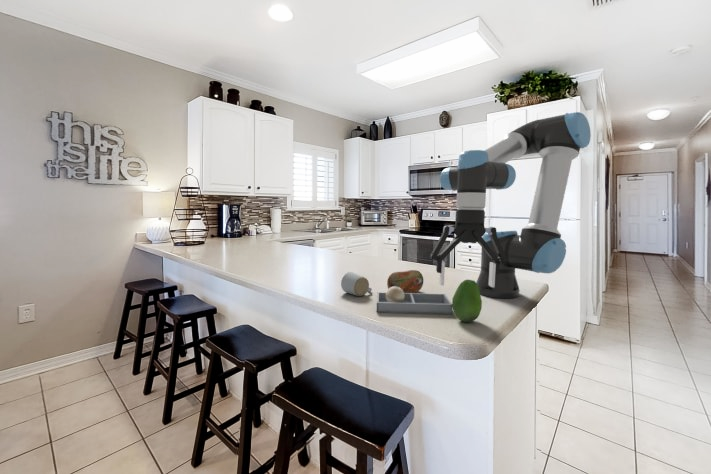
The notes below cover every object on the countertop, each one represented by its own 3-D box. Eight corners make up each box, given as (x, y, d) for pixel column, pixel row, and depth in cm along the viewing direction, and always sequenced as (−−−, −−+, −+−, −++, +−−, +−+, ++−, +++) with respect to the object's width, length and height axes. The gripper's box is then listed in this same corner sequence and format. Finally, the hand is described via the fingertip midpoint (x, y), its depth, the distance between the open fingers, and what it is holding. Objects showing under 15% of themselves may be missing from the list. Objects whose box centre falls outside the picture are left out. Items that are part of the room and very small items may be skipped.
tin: (390, 296, 117) (390, 273, 116) (385, 294, 120) (385, 271, 119) (423, 291, 124) (424, 269, 123) (418, 289, 126) (419, 268, 126)
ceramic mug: (355, 298, 114) (355, 277, 113) (340, 293, 120) (340, 273, 119) (376, 293, 121) (377, 273, 120) (361, 289, 127) (362, 269, 126)
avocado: (486, 322, 92) (488, 280, 90) (468, 328, 87) (470, 284, 86) (463, 314, 98) (465, 275, 97) (445, 319, 94) (446, 278, 93)
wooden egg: (403, 302, 108) (404, 284, 107) (405, 308, 102) (405, 289, 101) (385, 301, 108) (385, 284, 108) (385, 307, 102) (385, 288, 102)
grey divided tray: (444, 302, 110) (444, 294, 109) (452, 314, 98) (452, 304, 98) (376, 300, 111) (377, 292, 111) (376, 312, 100) (376, 302, 99)
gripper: (512, 209, 92) (507, 283, 94) (422, 208, 94) (419, 280, 96) (523, 210, 85) (518, 290, 87) (426, 208, 87) (422, 286, 89)
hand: (466, 285), depth 91 cm, fingers open, 13 cm apart
